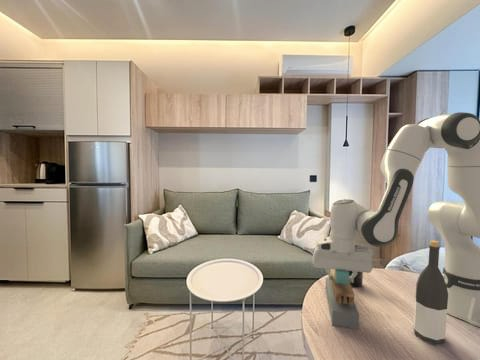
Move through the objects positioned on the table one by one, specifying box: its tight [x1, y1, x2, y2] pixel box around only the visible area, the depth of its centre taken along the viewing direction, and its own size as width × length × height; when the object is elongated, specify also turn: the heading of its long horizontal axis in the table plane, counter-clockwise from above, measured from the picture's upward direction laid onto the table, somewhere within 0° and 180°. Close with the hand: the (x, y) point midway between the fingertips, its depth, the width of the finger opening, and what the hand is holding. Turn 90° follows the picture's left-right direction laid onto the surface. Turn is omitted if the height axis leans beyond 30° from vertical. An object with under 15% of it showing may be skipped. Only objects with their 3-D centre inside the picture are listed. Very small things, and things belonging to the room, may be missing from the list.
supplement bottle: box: [348, 271, 364, 288], centre depth 110 cm, size 7×7×12 cm
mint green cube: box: [335, 269, 349, 285], centre depth 91 cm, size 4×4×4 cm
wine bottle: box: [413, 240, 448, 346], centre depth 77 cm, size 8×8×30 cm
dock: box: [325, 277, 360, 330], centre depth 93 cm, size 8×24×5 cm, turn 166°
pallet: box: [329, 269, 355, 305], centre depth 92 cm, size 6×20×4 cm, turn 166°
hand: (340, 280), depth 93 cm, fingers closed on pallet, 6 cm apart
